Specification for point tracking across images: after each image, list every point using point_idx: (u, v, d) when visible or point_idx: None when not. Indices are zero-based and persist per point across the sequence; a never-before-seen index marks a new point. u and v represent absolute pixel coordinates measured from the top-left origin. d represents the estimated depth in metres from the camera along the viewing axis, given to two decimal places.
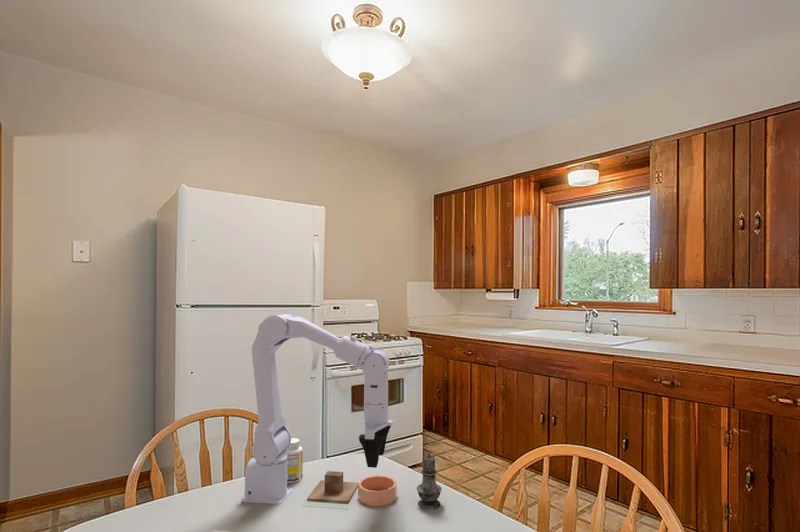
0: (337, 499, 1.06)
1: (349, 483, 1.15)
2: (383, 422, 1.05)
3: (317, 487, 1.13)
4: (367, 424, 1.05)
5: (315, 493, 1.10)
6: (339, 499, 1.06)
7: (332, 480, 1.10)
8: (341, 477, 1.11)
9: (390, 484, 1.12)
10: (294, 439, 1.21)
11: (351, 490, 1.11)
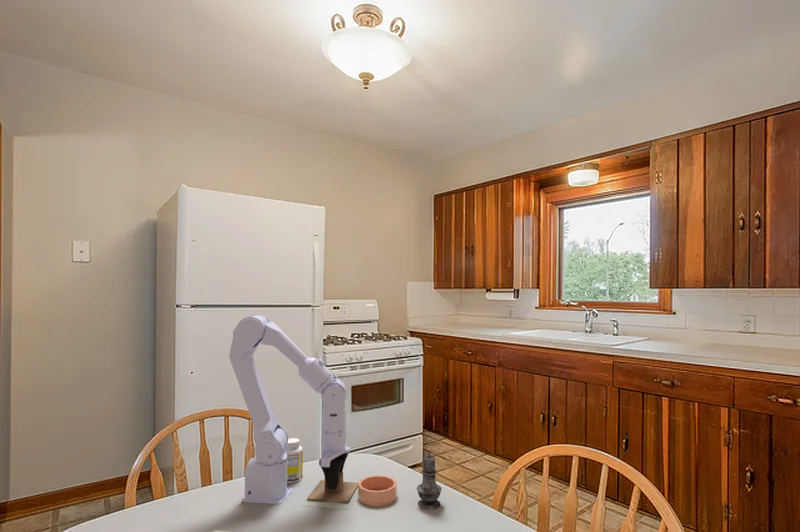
0: (337, 499, 1.06)
1: (349, 483, 1.15)
2: (340, 449, 1.10)
3: (317, 487, 1.13)
4: (325, 451, 1.09)
5: (315, 493, 1.10)
6: (339, 499, 1.06)
7: None
8: (341, 477, 1.11)
9: (390, 484, 1.12)
10: (294, 439, 1.21)
11: (351, 490, 1.11)
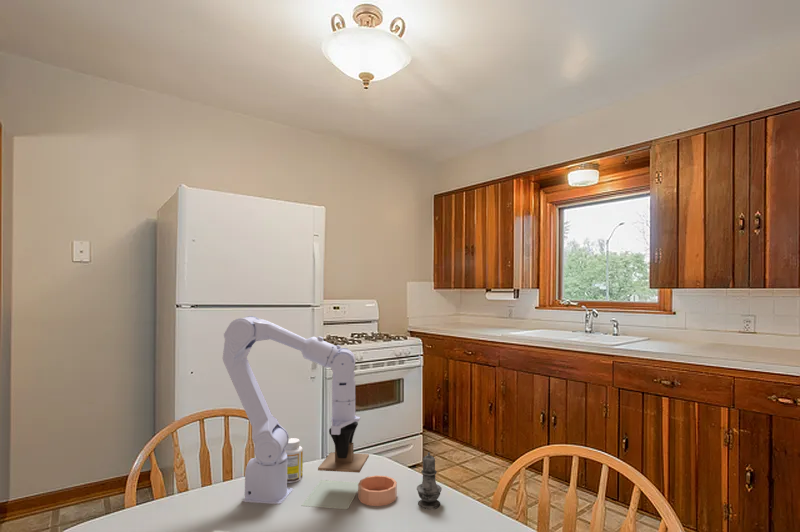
0: (348, 468, 1.06)
1: (359, 455, 1.15)
2: (350, 418, 1.10)
3: (327, 458, 1.13)
4: (334, 420, 1.09)
5: (325, 463, 1.10)
6: (350, 468, 1.06)
7: None
8: (351, 447, 1.11)
9: (390, 484, 1.12)
10: (294, 439, 1.21)
11: (361, 460, 1.11)
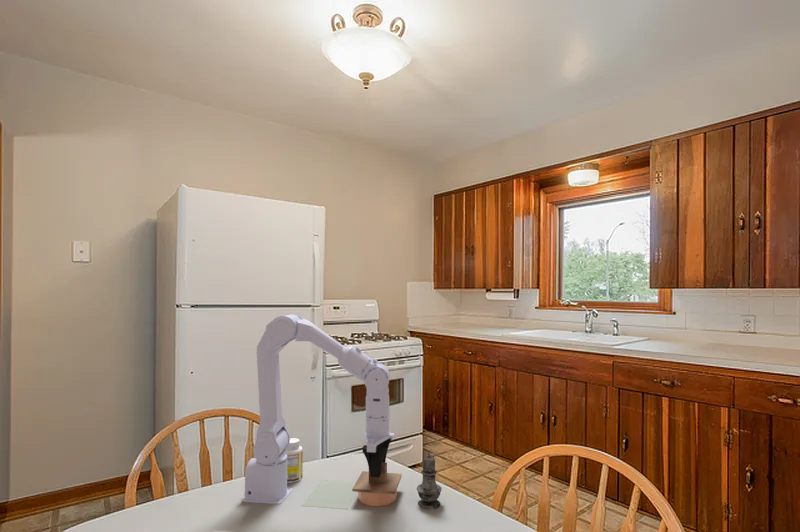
0: (383, 490, 1.04)
1: (392, 474, 1.13)
2: (384, 435, 1.08)
3: (360, 478, 1.11)
4: (369, 437, 1.07)
5: (359, 483, 1.08)
6: (385, 490, 1.04)
7: None
8: (385, 467, 1.09)
9: None
10: (294, 439, 1.21)
11: (395, 481, 1.09)
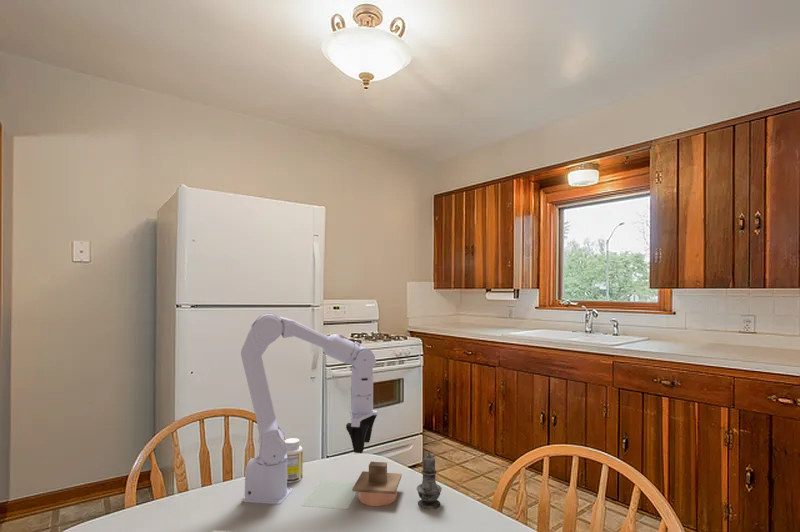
0: (383, 490, 1.04)
1: (392, 474, 1.13)
2: (368, 412, 1.16)
3: (360, 478, 1.11)
4: (354, 414, 1.15)
5: (359, 483, 1.08)
6: (385, 490, 1.04)
7: (377, 471, 1.08)
8: (385, 467, 1.09)
9: None
10: (294, 439, 1.21)
11: (395, 481, 1.09)
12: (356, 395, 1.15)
